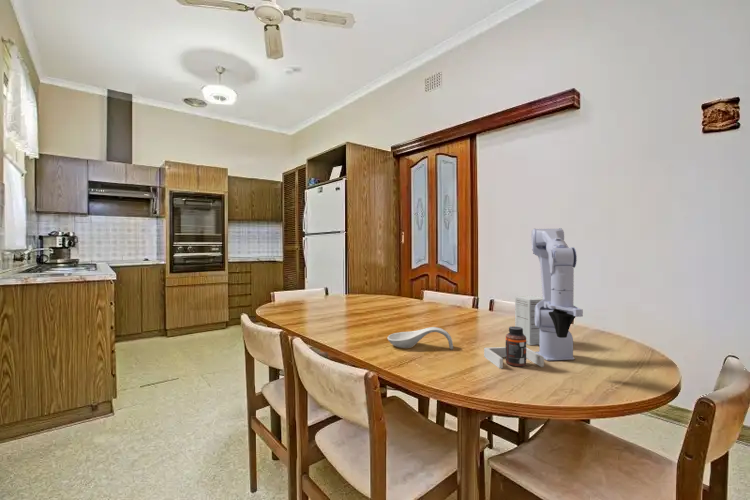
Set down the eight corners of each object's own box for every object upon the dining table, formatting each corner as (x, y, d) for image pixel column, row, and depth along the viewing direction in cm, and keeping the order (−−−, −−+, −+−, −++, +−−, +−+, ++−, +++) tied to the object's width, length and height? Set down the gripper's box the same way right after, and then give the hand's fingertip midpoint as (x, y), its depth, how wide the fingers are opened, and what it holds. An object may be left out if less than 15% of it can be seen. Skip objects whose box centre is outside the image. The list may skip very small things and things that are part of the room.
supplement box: (552, 344, 130) (552, 299, 130) (529, 345, 128) (530, 299, 128) (535, 337, 139) (535, 295, 139) (514, 339, 137) (514, 296, 137)
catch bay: (524, 355, 117) (524, 346, 117) (543, 366, 106) (543, 356, 106) (484, 356, 115) (484, 347, 115) (499, 368, 104) (499, 358, 104)
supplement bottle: (528, 368, 105) (528, 330, 105) (507, 366, 106) (507, 329, 106) (523, 361, 111) (523, 325, 111) (504, 360, 112) (504, 325, 112)
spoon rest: (385, 350, 124) (385, 330, 124) (389, 341, 135) (389, 322, 135) (453, 353, 120) (453, 332, 120) (452, 344, 131) (452, 325, 131)
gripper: (534, 287, 107) (534, 331, 107) (565, 293, 93) (565, 344, 93) (556, 286, 108) (556, 330, 108) (590, 292, 93) (589, 343, 94)
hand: (561, 337), depth 100 cm, fingers closed
